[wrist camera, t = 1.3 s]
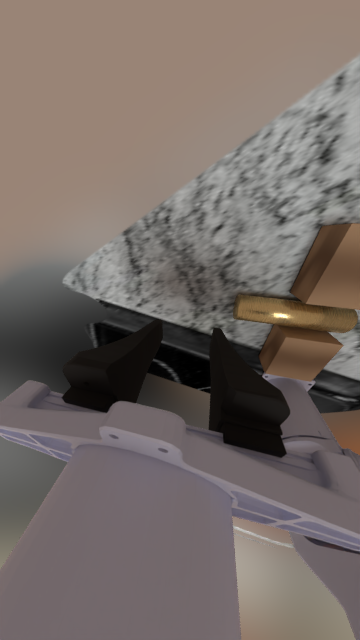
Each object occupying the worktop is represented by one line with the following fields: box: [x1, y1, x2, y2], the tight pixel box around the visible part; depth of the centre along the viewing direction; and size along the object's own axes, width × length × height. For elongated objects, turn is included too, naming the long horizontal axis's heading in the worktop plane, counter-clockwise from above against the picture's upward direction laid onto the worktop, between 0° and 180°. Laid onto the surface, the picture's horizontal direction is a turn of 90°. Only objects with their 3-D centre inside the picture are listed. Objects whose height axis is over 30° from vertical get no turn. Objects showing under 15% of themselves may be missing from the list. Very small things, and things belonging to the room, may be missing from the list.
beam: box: [259, 223, 360, 382], centre depth 16 cm, size 18×6×3 cm, turn 178°
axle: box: [233, 295, 358, 333], centre depth 17 cm, size 12×3×3 cm, turn 88°
